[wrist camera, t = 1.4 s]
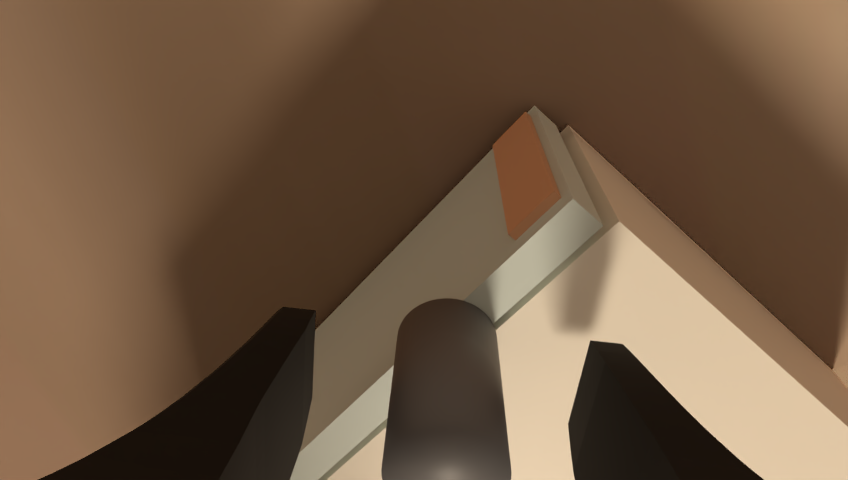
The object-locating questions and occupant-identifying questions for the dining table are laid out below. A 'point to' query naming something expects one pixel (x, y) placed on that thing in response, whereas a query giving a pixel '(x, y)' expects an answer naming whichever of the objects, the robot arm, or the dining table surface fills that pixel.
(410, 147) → the dining table surface
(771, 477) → the carton
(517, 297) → the flap
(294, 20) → the dining table surface
